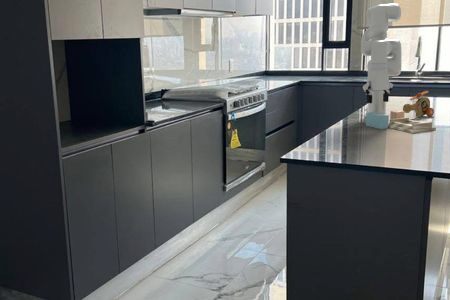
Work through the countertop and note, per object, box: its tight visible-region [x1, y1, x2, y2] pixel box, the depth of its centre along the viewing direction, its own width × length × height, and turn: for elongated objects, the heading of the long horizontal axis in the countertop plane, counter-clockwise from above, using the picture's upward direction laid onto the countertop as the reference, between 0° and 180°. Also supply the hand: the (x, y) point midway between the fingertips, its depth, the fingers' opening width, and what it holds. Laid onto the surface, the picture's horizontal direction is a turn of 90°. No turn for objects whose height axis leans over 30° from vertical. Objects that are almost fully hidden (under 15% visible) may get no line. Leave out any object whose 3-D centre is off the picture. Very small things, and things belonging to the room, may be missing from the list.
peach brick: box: [389, 109, 405, 120], centre depth 252 cm, size 4×5×6 cm
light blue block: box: [365, 112, 390, 130], centre depth 244 cm, size 12×4×6 cm, turn 22°
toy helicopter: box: [402, 90, 435, 118], centre depth 264 cm, size 8×21×14 cm, turn 123°
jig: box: [388, 117, 437, 134], centre depth 237 cm, size 18×14×4 cm
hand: (377, 102), depth 242 cm, fingers open, 9 cm apart
